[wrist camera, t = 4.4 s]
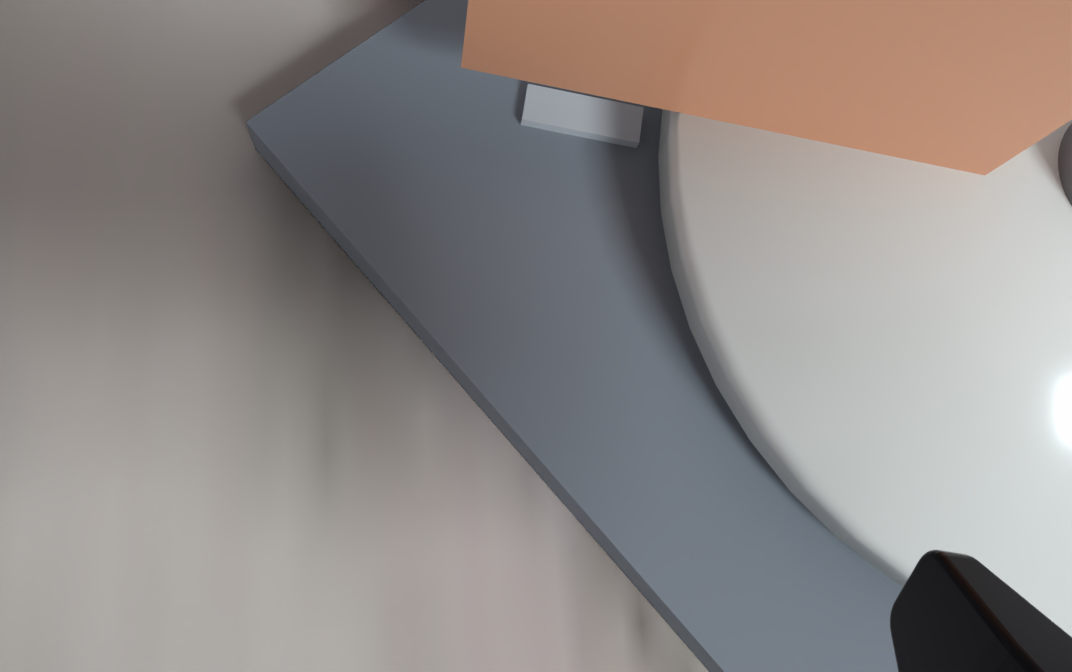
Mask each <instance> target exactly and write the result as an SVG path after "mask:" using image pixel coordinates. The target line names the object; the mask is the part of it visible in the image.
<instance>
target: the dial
mask: <svg viewBox="0 0 1072 672" xmlns="http://www.w3.org/2000/svg"><path fill="white" fill-rule="evenodd" d="M461 68H465V69H470V70H475V71H480V72H485V73H490V74H495V75H499V76H504V77H509V78H514V79H519V80H524V81H529V82H533V83H538V84H543V85H548V86H553V87H558V88H563V89H567V90H572V91H577V92H582V93H587V94H592V95H596V96H601V97H606V98H611V99H616V100H621V101H626V102H630V103H635V104H640V105H645V106H650V107H655V108H660V109H662V120H661V130H660V141H659V152H658V163H659V185H660V207H661V216H662V222H663V227H664V233H665V238H666V244H667V249H668V255H669V260H670V266H671V271H672V274H673V277H674V280H675V283H676V287H677V290H678V293H679V296H680V299H681V302H682V305H683V309H684V312H685V315H686V318H687V321H688V324H689V328H690V330H691V332H692V334H693V336H694V339H695V341H696V343H697V345H698V347H699V349H700V352H701V354H702V356H703V358H704V360H705V363H706V365H707V367H708V369H709V371H710V373H711V376H712V378H713V380H714V382H715V384H716V386H717V388H718V389H719V391H720V393H721V394H722V396H723V398H724V399H725V401H726V402H727V404H728V406H729V407H730V409H731V411H732V412H733V414H734V415H735V417H736V419H737V420H738V422H739V424H740V425H741V427H742V428H743V430H744V432H745V433H746V435H747V437H748V438H749V440H750V441H751V443H752V444H753V445H754V446H755V448H756V449H757V450H758V451H759V453H760V454H761V455H762V456H763V458H764V459H765V460H766V461H767V463H768V464H769V465H770V466H771V468H772V469H773V470H774V471H775V473H776V474H777V475H778V476H779V478H780V479H781V480H782V482H783V483H784V484H785V485H786V487H787V488H788V489H789V490H790V492H791V493H792V494H793V495H794V496H795V497H796V498H797V499H798V500H799V501H800V502H801V503H802V504H803V505H804V506H805V507H806V508H808V509H809V510H810V511H811V512H812V513H813V514H814V515H815V516H816V517H817V518H818V519H819V520H820V521H821V522H822V523H823V524H824V525H825V526H826V527H827V528H828V529H829V530H830V531H831V532H832V533H833V534H834V535H835V536H836V537H837V538H838V539H839V540H840V541H842V542H843V543H844V544H846V545H847V546H848V547H850V548H851V549H852V550H853V551H855V552H856V553H857V554H859V555H860V556H861V557H862V558H864V559H865V560H866V561H868V562H869V563H870V564H872V565H873V566H874V567H875V568H877V569H878V570H879V571H881V572H882V573H883V574H885V575H886V576H887V577H888V578H890V579H891V580H893V581H895V582H896V583H898V584H900V585H901V586H903V587H904V585H905V583H906V582H907V580H908V578H909V577H910V575H911V573H912V571H913V570H914V568H915V566H916V565H917V563H918V561H919V560H920V558H921V557H922V556H923V555H924V554H925V553H927V552H928V551H931V550H942V551H949V552H955V553H961V554H966V555H969V556H972V557H974V558H975V559H977V560H978V561H979V562H980V563H982V564H983V565H984V566H985V567H987V568H988V569H989V570H990V571H991V572H993V573H994V574H995V575H996V576H998V577H999V578H1000V579H1001V580H1002V581H1004V582H1005V583H1006V584H1007V585H1009V586H1010V587H1011V588H1012V589H1013V590H1015V591H1016V592H1017V593H1018V594H1020V595H1021V596H1022V597H1023V598H1024V599H1026V600H1027V601H1028V602H1029V603H1031V604H1032V605H1033V606H1034V607H1036V608H1037V609H1038V610H1039V611H1040V612H1042V613H1043V614H1044V615H1045V616H1047V617H1048V618H1049V619H1050V620H1051V621H1053V622H1054V623H1055V624H1056V625H1058V626H1059V627H1060V628H1061V629H1062V630H1064V631H1065V632H1066V633H1067V634H1069V635H1070V636H1071V637H1072V0H468V9H467V17H466V26H465V35H464V44H463V53H462V62H461Z"/></svg>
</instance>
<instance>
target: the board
mask: <svg viewBox="0 0 1072 672" xmlns="http://www.w3.org/2000/svg"><path fill="white" fill-rule="evenodd" d="M467 9H468V0H425V1H423V2H422V3H420V4H419V5H417V6H416V7H414V8H413V9H411V10H410V11H408V12H407V13H405V14H404V15H402V16H401V17H399V18H398V19H396V20H395V21H394V22H392V23H391V24H389V25H388V26H386V27H385V28H383V29H382V30H380V31H379V32H377V33H376V34H374V35H373V36H371V37H370V38H368V39H367V40H365V41H364V42H363V43H361V44H360V45H358V46H357V47H355V48H354V49H352V50H351V51H349V52H348V53H346V54H345V55H343V56H342V57H340V58H339V59H337V60H336V61H335V62H333V63H332V64H330V65H329V66H327V67H326V68H324V69H323V70H321V71H320V72H318V73H317V74H315V75H314V76H312V77H311V78H309V79H308V80H306V81H305V82H304V83H302V84H301V85H299V86H298V87H296V88H295V89H293V90H292V91H290V92H289V93H287V94H286V95H284V96H283V97H281V98H280V99H278V100H277V101H275V102H274V103H273V104H271V105H270V106H268V107H267V108H265V109H264V110H262V111H261V112H259V113H258V114H256V115H255V116H253V117H252V118H250V119H249V120H247V121H246V124H247V127H248V129H249V132H250V135H251V137H252V140H253V143H254V145H255V148H256V150H257V151H258V152H259V153H260V154H261V156H262V157H263V158H264V159H265V160H266V161H267V162H268V164H269V165H270V166H271V167H272V168H273V169H274V171H275V172H276V173H277V174H278V175H279V176H280V177H281V179H282V180H283V181H284V182H285V183H286V184H287V186H288V187H289V188H290V189H291V190H292V191H293V192H294V194H295V195H296V196H297V197H298V198H299V199H300V200H301V202H302V203H303V204H304V205H305V206H306V207H307V209H308V210H309V211H310V212H311V213H312V214H313V215H314V217H315V218H316V219H317V220H318V221H319V222H320V224H321V225H322V226H323V227H324V228H325V229H326V230H327V232H328V233H329V234H330V235H331V236H332V237H333V239H334V240H335V241H336V242H337V243H338V244H339V245H340V247H341V248H342V249H343V250H344V251H345V252H346V253H347V255H348V256H349V257H350V258H351V259H352V260H353V262H354V263H355V264H356V265H357V266H358V267H359V268H360V270H361V271H362V272H363V273H364V274H365V275H366V277H367V278H368V279H369V280H370V281H371V282H372V283H373V285H374V286H375V287H376V288H377V289H378V290H379V292H380V293H381V294H382V295H383V296H384V297H385V298H386V300H387V301H388V302H389V303H390V304H391V305H392V306H393V308H394V309H395V310H396V311H397V312H398V313H399V315H400V316H401V317H402V318H403V319H404V320H405V321H406V323H407V324H408V325H409V326H410V327H411V328H412V330H413V331H414V332H415V333H416V334H417V335H418V336H419V338H420V339H421V340H422V341H423V342H424V343H425V344H426V346H427V347H428V348H429V349H430V350H431V351H432V353H433V354H434V355H435V356H436V357H437V358H438V359H439V361H440V362H441V363H442V364H443V365H444V366H445V368H446V369H447V370H448V371H449V372H450V373H451V374H452V376H453V377H454V378H455V379H456V380H457V381H458V383H459V384H460V385H461V386H462V387H463V388H464V389H465V391H466V392H467V393H468V394H469V395H470V396H471V397H472V399H473V400H474V401H475V402H476V403H477V404H478V406H479V407H480V408H481V409H482V410H483V411H484V412H485V414H486V415H487V416H488V417H489V418H490V419H491V421H492V422H493V423H494V424H495V425H496V426H497V427H498V429H499V430H500V431H501V432H502V433H503V434H504V435H505V437H506V438H507V439H508V440H509V441H510V442H511V444H512V445H513V446H514V447H515V448H516V449H517V450H518V452H519V453H520V454H521V455H522V456H523V457H524V459H525V460H526V461H527V462H528V463H529V464H530V465H531V467H532V468H533V469H534V470H535V471H536V472H537V474H538V475H539V476H540V477H541V478H542V479H543V480H544V482H545V483H546V484H547V485H548V486H549V487H550V488H551V490H552V491H553V492H554V493H555V494H556V495H557V497H558V498H559V499H560V500H561V501H562V502H563V503H564V505H565V506H566V507H567V508H568V509H569V510H570V512H571V513H572V514H573V515H574V516H575V517H576V518H577V520H578V521H579V522H580V523H581V524H582V525H583V526H584V528H585V529H586V530H587V531H588V532H589V533H590V535H591V536H592V537H593V538H594V539H595V540H596V541H597V543H598V544H599V545H600V546H601V547H602V548H603V550H604V551H605V552H606V553H607V554H608V555H609V556H610V558H611V559H612V560H613V561H614V562H615V563H616V565H617V566H618V567H619V568H620V569H621V570H622V571H623V573H624V574H625V575H626V576H627V577H628V578H629V579H630V581H631V582H632V583H633V584H634V585H635V586H636V588H637V589H638V590H639V591H640V592H641V593H642V594H643V596H644V597H645V598H646V599H647V600H648V601H649V603H650V604H651V605H652V606H653V607H654V608H655V609H656V611H657V612H658V613H659V614H660V615H661V616H662V617H663V619H664V620H665V621H666V622H667V623H668V624H669V626H670V627H671V628H672V629H673V630H674V631H675V632H676V634H677V635H678V636H679V637H680V638H681V639H682V641H683V642H684V643H685V644H686V645H687V646H688V647H689V649H690V650H691V651H692V652H693V653H694V654H695V656H696V657H697V658H698V659H699V660H700V661H701V662H702V664H703V665H704V666H705V667H706V668H707V669H708V670H709V672H898V667H897V662H896V657H895V652H894V646H893V641H892V636H891V630H890V615H891V610H892V607H893V604H894V602H895V600H896V598H897V597H898V595H899V593H900V592H901V590H902V588H903V586H901V585H900V584H898V583H896V582H895V581H893V580H891V579H890V578H888V577H887V576H886V575H885V574H883V573H882V572H881V571H879V570H878V569H877V568H875V567H874V566H873V565H872V564H870V563H869V562H868V561H866V560H865V559H864V558H862V557H861V556H860V555H859V554H857V553H856V552H855V551H853V550H852V549H851V548H850V547H848V546H847V545H846V544H844V543H843V542H842V541H840V540H839V539H838V538H837V537H836V536H835V535H834V534H833V533H832V532H831V531H830V530H829V529H828V528H827V527H826V526H825V525H824V524H823V523H822V522H821V521H820V520H819V519H818V518H817V517H816V516H815V515H814V514H813V513H812V512H811V511H810V510H809V509H808V508H806V507H805V506H804V505H803V504H802V503H801V502H800V501H799V500H798V499H797V498H796V497H795V496H794V495H793V494H792V493H791V492H790V490H789V489H788V488H787V487H786V485H785V484H784V483H783V482H782V480H781V479H780V478H779V476H778V475H777V474H776V473H775V471H774V470H773V469H772V468H771V466H770V465H769V464H768V463H767V461H766V460H765V459H764V458H763V456H762V455H761V454H760V453H759V451H758V450H757V449H756V448H755V446H754V445H753V444H752V443H751V441H750V440H749V438H748V437H747V435H746V433H745V432H744V430H743V428H742V427H741V425H740V424H739V422H738V420H737V419H736V417H735V415H734V414H733V412H732V411H731V409H730V407H729V406H728V404H727V402H726V401H725V399H724V398H723V396H722V394H721V393H720V391H719V389H718V388H717V386H716V384H715V382H714V380H713V378H712V376H711V373H710V371H709V369H708V367H707V365H706V363H705V360H704V358H703V356H702V354H701V352H700V349H699V347H698V345H697V343H696V341H695V339H694V336H693V334H692V332H691V330H690V328H689V324H688V321H687V318H686V315H685V312H684V309H683V305H682V302H681V299H680V296H679V293H678V290H677V287H676V283H675V280H674V277H673V274H672V271H671V266H670V260H669V255H668V249H667V244H666V238H665V233H664V227H663V222H662V216H661V207H660V185H659V163H658V152H659V141H660V130H661V120H662V109H660V108H655V107H650V106H645V105H640V104H635V103H630V102H626V101H621V100H616V99H611V98H606V97H601V96H596V95H592V94H587V93H582V92H577V91H572V90H567V89H563V88H558V87H553V86H548V85H543V84H538V83H533V82H529V81H524V80H519V79H514V78H509V77H504V76H499V75H495V74H490V73H485V72H480V71H475V70H470V69H465V68H461V62H462V53H463V44H464V35H465V26H466V17H467Z"/></svg>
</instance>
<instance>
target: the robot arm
mask: <svg viewBox="0 0 1072 672" xmlns="http://www.w3.org/2000/svg"><path fill="white" fill-rule="evenodd" d="M890 630H891V636H892V641H893V646H894V652H895V657H896V662H897V667H898V672H1072V637H1071V636H1070V635H1069V634H1067V633H1066V632H1065V631H1064V630H1062V629H1061V628H1060V627H1059V626H1058V625H1056V624H1055V623H1054V622H1053V621H1051V620H1050V619H1049V618H1048V617H1047V616H1045V615H1044V614H1043V613H1042V612H1040V611H1039V610H1038V609H1037V608H1036V607H1034V606H1033V605H1032V604H1031V603H1029V602H1028V601H1027V600H1026V599H1024V598H1023V597H1022V596H1021V595H1020V594H1018V593H1017V592H1016V591H1015V590H1013V589H1012V588H1011V587H1010V586H1009V585H1007V584H1006V583H1005V582H1004V581H1002V580H1001V579H1000V578H999V577H998V576H996V575H995V574H994V573H993V572H991V571H990V570H989V569H988V568H987V567H985V566H984V565H983V564H982V563H980V562H979V561H978V560H977V559H975V558H974V557H972V556H969V555H966V554H961V553H955V552H949V551H942V550H931V551H928V552H927V553H925V554H924V555H923V556H922V557H921V558H920V560H919V561H918V563H917V565H916V566H915V568H914V570H913V571H912V573H911V575H910V577H909V578H908V580H907V582H906V583H905V585H904V587H903V588H902V590H901V592H900V593H899V595H898V597H897V598H896V600H895V602H894V604H893V607H892V610H891V615H890Z"/></svg>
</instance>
